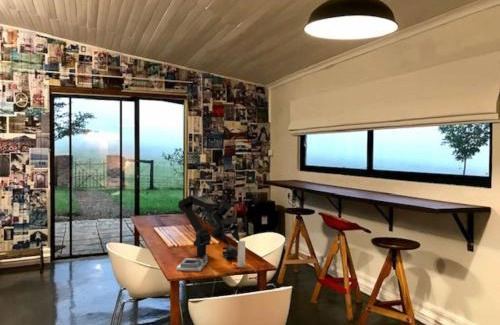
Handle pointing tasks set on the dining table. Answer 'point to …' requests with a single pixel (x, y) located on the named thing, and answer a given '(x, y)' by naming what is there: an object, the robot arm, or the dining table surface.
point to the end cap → (230, 252)
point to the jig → (192, 264)
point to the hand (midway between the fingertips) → (233, 242)
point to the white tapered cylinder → (241, 253)
